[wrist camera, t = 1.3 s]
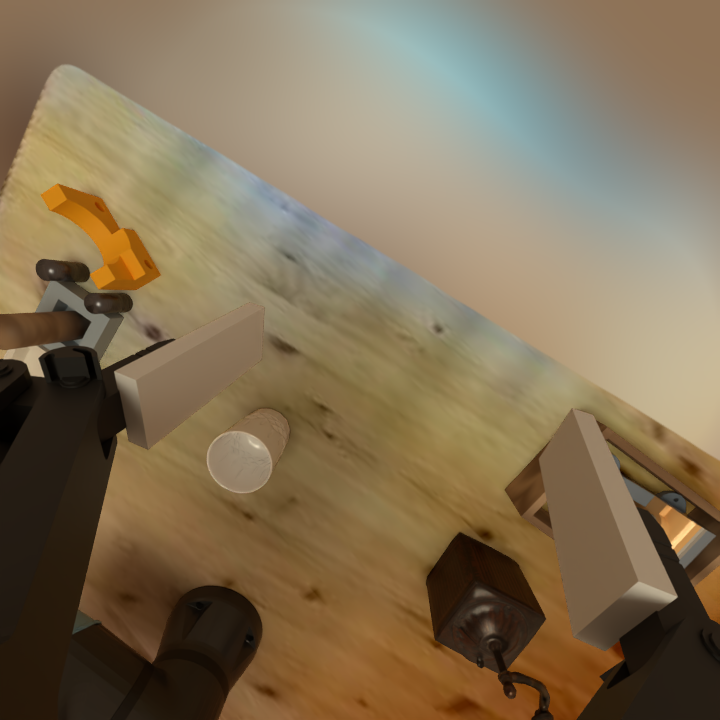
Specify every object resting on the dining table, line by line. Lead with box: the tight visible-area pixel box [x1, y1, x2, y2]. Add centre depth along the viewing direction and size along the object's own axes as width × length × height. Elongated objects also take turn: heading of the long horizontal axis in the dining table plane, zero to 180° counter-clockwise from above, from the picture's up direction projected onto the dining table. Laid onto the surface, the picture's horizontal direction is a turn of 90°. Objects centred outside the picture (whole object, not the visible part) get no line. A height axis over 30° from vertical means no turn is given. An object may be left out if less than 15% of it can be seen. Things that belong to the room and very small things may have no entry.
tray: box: [3, 345, 50, 377], centre depth 49 cm, size 11×11×3 cm
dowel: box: [0, 311, 91, 350], centre depth 43 cm, size 4×4×10 cm
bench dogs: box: [36, 259, 133, 314], centre depth 45 cm, size 3×10×5 cm, turn 54°
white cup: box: [207, 409, 290, 493], centre depth 45 cm, size 8×8×10 cm
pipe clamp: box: [41, 184, 161, 290], centre depth 43 cm, size 12×4×6 cm, turn 27°
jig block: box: [35, 281, 124, 361], centre depth 47 cm, size 9×9×2 cm
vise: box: [612, 454, 717, 569], centre depth 45 cm, size 18×10×7 cm, turn 59°
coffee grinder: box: [426, 533, 554, 720], centre depth 43 cm, size 16×11×18 cm
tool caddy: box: [505, 421, 720, 587], centre depth 45 cm, size 15×23×6 cm, turn 54°
